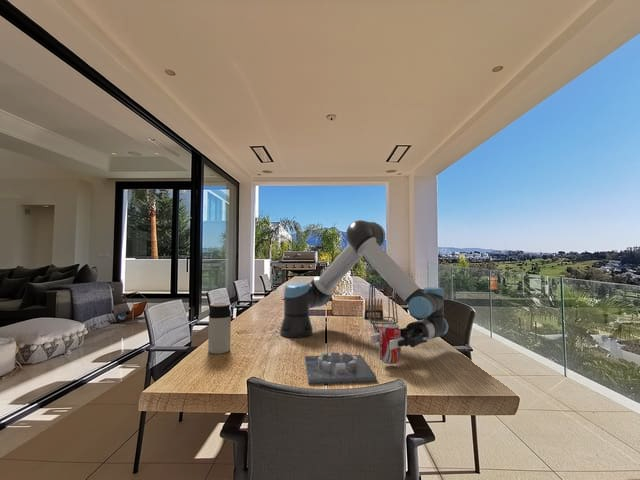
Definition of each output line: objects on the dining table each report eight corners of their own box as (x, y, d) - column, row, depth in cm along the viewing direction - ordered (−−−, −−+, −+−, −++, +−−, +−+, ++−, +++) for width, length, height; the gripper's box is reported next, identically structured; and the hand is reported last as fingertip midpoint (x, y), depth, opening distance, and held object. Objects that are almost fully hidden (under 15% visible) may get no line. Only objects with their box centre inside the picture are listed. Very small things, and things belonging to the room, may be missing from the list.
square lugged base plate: (308, 384, 91) (308, 370, 91) (304, 360, 111) (305, 349, 111) (376, 382, 93) (376, 368, 93) (360, 359, 113) (360, 347, 113)
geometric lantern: (402, 333, 149) (400, 259, 150) (368, 334, 149) (367, 260, 150) (394, 325, 165) (393, 258, 166) (364, 326, 165) (363, 258, 166)
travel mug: (227, 354, 117) (228, 305, 118) (205, 354, 117) (206, 305, 117) (232, 347, 125) (233, 301, 126) (211, 348, 125) (212, 301, 125)
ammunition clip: (382, 318, 183) (382, 297, 184) (383, 319, 181) (383, 298, 182) (364, 318, 183) (364, 297, 183) (364, 319, 181) (364, 298, 181)
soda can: (376, 358, 109) (377, 323, 110) (396, 357, 110) (396, 322, 110) (382, 365, 102) (382, 327, 103) (403, 365, 103) (404, 327, 103)
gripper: (445, 348, 110) (406, 362, 95) (397, 335, 125) (357, 346, 110) (445, 326, 110) (407, 337, 95) (397, 316, 126) (357, 324, 111)
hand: (380, 342), depth 103 cm, fingers closed on soda can, 7 cm apart
